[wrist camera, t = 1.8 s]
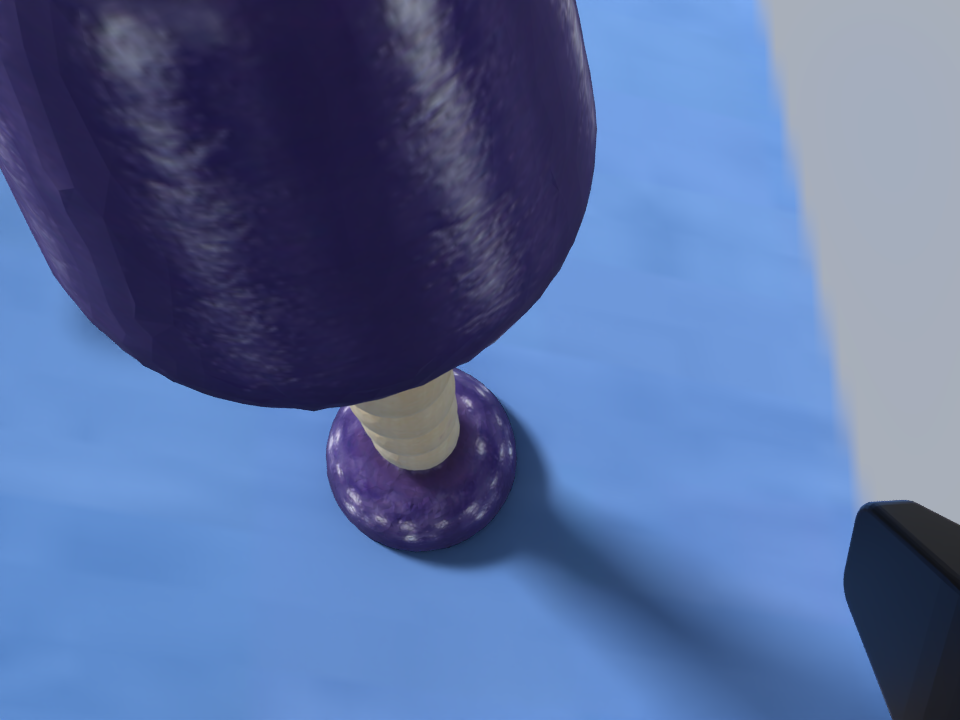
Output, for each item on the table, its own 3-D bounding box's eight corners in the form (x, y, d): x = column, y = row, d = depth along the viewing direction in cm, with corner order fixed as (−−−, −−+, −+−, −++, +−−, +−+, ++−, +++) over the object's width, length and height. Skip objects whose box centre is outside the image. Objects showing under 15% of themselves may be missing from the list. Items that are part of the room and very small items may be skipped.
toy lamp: (417, 614, 18) (192, 376, 3) (256, 477, 19) (-642, -318, 4) (553, 443, 20) (945, -405, 4) (396, 321, 21) (204, -775, 5)
